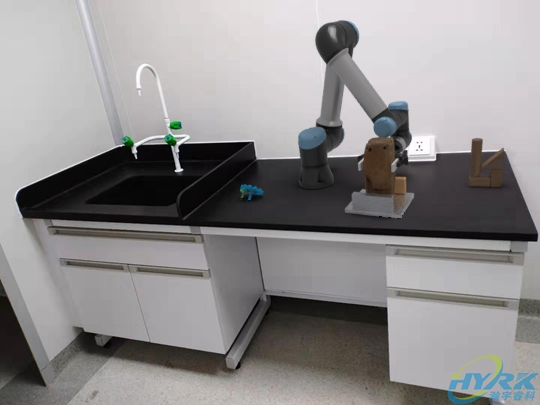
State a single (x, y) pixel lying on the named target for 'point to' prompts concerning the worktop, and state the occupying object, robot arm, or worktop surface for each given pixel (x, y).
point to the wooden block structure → (485, 166)
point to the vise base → (397, 206)
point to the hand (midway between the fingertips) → (375, 167)
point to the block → (379, 166)
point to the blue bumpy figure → (250, 191)
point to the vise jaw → (400, 185)
